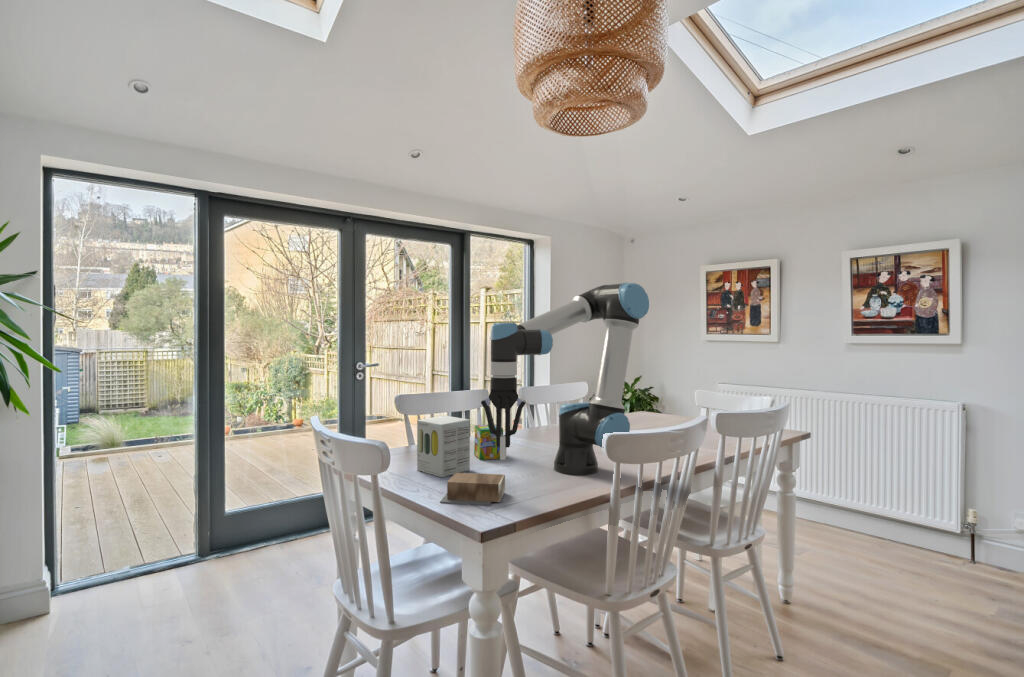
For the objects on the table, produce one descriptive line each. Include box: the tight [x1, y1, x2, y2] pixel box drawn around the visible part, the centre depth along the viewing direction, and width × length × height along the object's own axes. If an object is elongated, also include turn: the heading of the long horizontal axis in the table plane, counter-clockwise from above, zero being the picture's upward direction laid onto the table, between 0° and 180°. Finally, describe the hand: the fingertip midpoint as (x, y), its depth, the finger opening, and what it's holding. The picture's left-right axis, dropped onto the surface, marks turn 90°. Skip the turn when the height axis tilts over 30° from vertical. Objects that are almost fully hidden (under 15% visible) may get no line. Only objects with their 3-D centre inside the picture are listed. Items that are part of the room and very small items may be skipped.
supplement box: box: [416, 415, 471, 478], centre depth 186 cm, size 13×13×18 cm
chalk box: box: [473, 424, 504, 461], centre depth 205 cm, size 9×9×15 cm
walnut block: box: [446, 472, 506, 503], centre depth 157 cm, size 5×10×15 cm
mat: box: [439, 493, 492, 506], centre depth 159 cm, size 14×16×1 cm
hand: (503, 458), depth 156 cm, fingers closed
